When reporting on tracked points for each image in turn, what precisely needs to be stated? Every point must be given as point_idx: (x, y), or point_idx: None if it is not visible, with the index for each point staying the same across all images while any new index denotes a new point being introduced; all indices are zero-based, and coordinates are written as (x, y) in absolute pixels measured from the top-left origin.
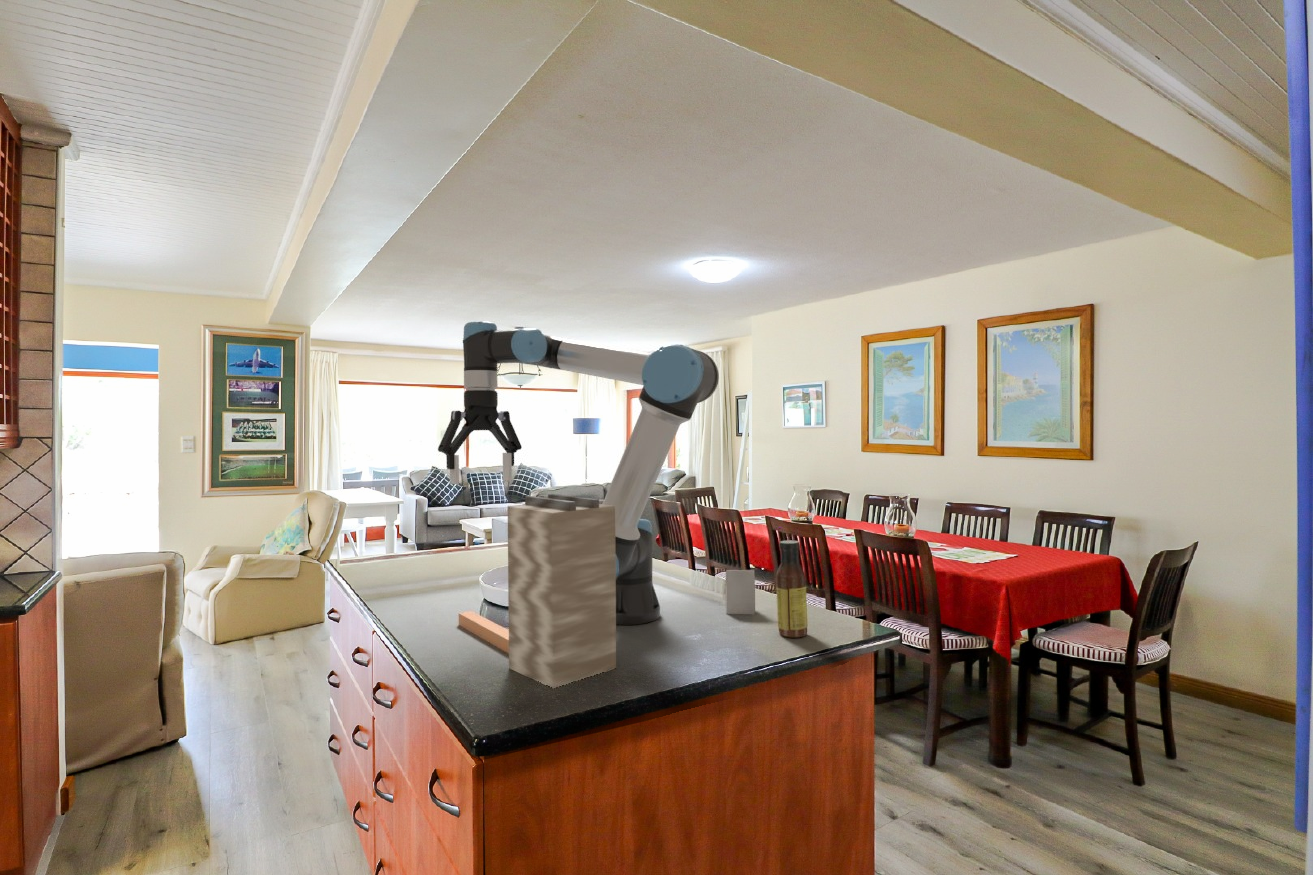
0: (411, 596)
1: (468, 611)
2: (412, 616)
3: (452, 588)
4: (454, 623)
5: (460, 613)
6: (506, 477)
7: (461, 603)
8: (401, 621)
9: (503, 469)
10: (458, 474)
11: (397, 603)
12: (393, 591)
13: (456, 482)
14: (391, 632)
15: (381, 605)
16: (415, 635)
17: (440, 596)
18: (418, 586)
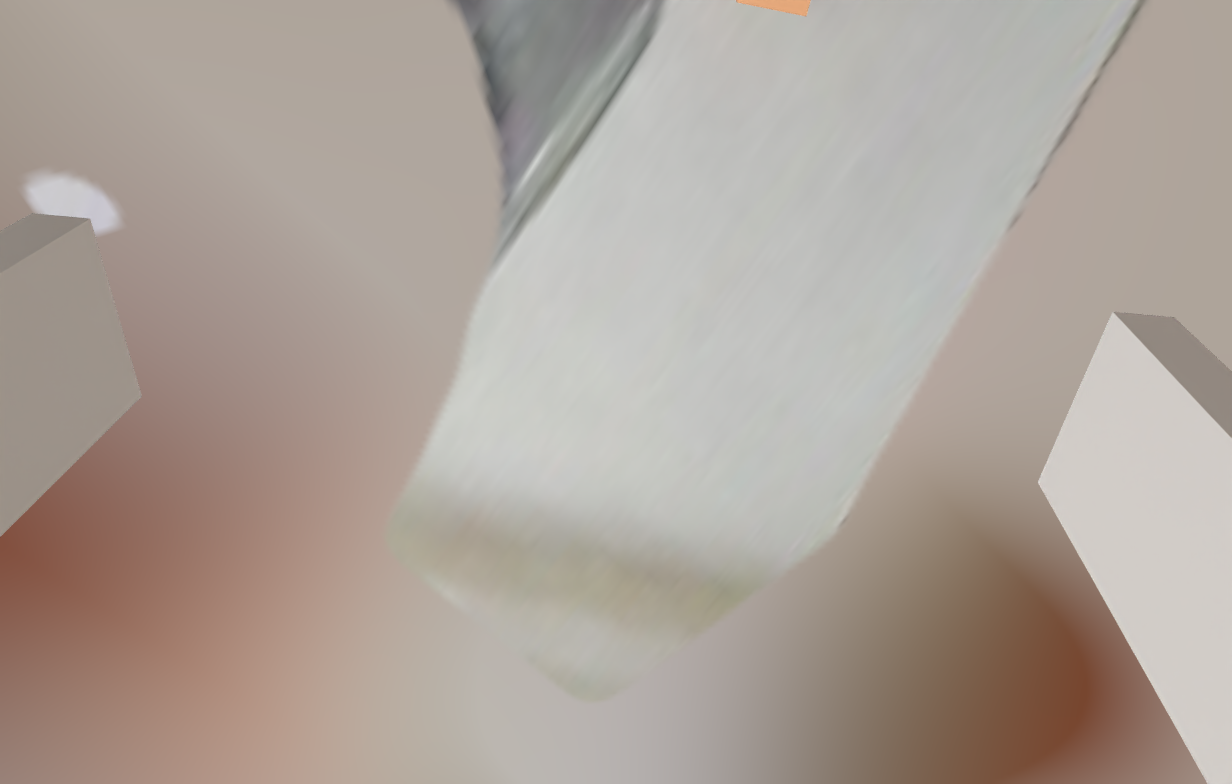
0: (649, 535)
1: (753, 4)
2: (832, 295)
3: (471, 523)
4: (796, 45)
5: (803, 3)
6: (80, 319)
7: (572, 314)
8: (910, 263)
9: (15, 491)
10: (1213, 411)
11: (745, 492)
12: (653, 626)
13: (1176, 334)
14: (1054, 145)
15: (800, 509)
16: (1038, 9)
17: (572, 462)
18: (551, 623)
